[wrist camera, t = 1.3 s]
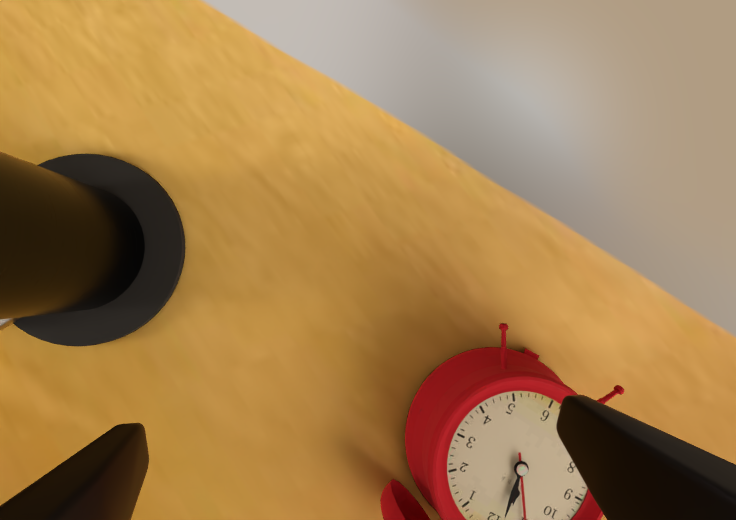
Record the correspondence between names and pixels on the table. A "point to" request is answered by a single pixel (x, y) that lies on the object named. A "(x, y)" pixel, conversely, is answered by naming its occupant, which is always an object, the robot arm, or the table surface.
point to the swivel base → (157, 264)
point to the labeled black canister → (61, 243)
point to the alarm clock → (491, 443)
